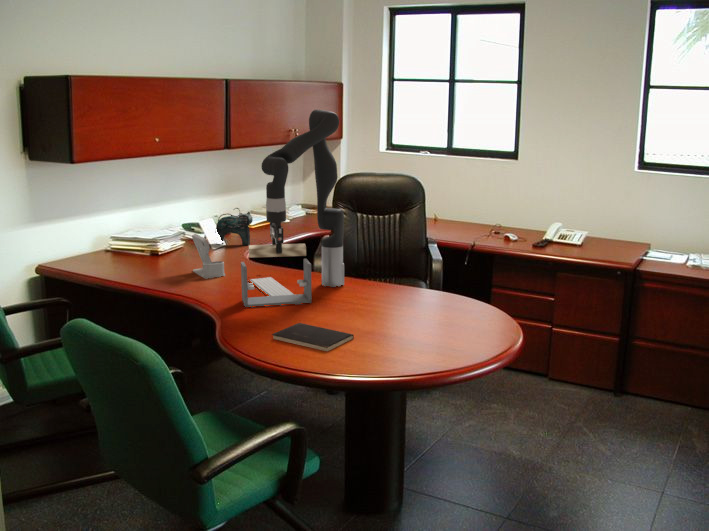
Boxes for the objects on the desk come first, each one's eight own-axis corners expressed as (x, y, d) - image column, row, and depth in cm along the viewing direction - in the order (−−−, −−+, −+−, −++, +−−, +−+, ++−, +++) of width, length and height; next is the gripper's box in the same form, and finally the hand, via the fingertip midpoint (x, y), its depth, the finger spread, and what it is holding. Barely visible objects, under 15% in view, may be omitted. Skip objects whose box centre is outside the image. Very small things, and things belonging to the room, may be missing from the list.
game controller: (253, 244, 415) (252, 207, 411) (249, 246, 409) (248, 209, 404) (218, 242, 419) (217, 206, 414) (214, 245, 413) (212, 208, 408)
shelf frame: (306, 296, 316) (306, 258, 312) (311, 303, 306) (311, 264, 303) (242, 300, 310) (240, 262, 306) (244, 307, 300) (243, 267, 296)
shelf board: (305, 252, 306) (304, 243, 305) (306, 255, 300) (306, 246, 299) (249, 253, 303) (248, 245, 302) (249, 257, 297) (248, 248, 296)
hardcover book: (327, 353, 253) (327, 346, 252) (272, 340, 265) (271, 334, 264) (353, 340, 266) (353, 333, 265) (300, 328, 278) (300, 322, 277)
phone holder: (226, 276, 348) (225, 237, 344) (205, 279, 343) (203, 239, 339) (212, 268, 362) (211, 230, 358) (191, 271, 357) (189, 232, 353)
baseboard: (266, 301, 312) (294, 297, 316) (266, 294, 311) (294, 291, 316) (244, 282, 339) (270, 280, 344) (244, 276, 338) (270, 273, 343)
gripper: (262, 206, 303) (264, 248, 307) (270, 213, 289) (271, 256, 294) (281, 205, 305) (282, 246, 309) (289, 211, 292) (290, 254, 296)
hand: (277, 251), depth 301 cm, fingers closed on shelf board, 6 cm apart
